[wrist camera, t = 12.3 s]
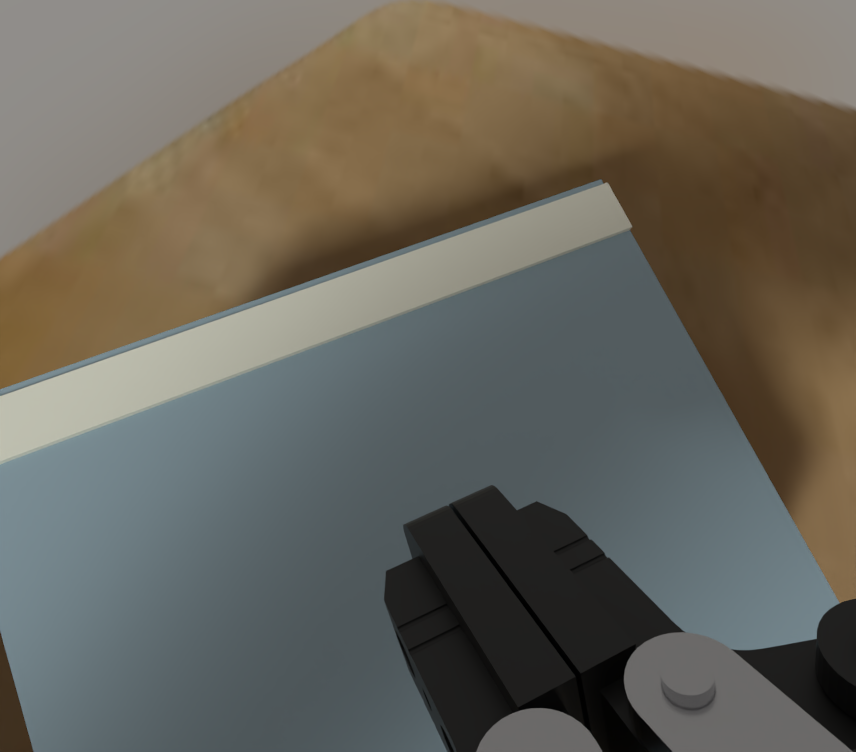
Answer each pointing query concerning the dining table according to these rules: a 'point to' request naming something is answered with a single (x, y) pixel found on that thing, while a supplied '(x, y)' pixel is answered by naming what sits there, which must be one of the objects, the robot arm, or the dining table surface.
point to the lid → (366, 487)
